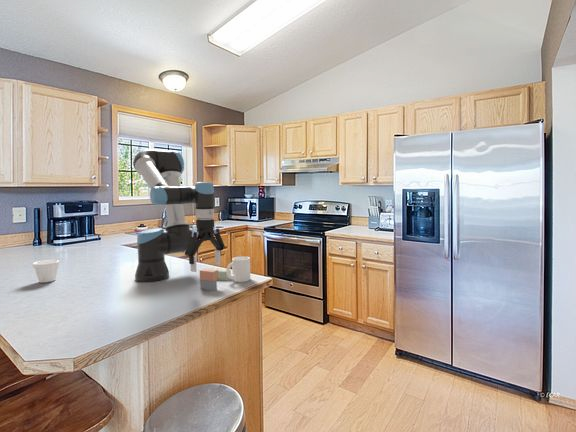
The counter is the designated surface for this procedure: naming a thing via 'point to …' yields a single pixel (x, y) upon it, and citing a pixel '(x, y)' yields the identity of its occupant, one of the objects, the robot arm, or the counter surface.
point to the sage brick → (223, 274)
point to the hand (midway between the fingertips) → (206, 267)
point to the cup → (46, 270)
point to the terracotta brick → (209, 274)
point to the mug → (239, 269)
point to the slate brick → (208, 285)
